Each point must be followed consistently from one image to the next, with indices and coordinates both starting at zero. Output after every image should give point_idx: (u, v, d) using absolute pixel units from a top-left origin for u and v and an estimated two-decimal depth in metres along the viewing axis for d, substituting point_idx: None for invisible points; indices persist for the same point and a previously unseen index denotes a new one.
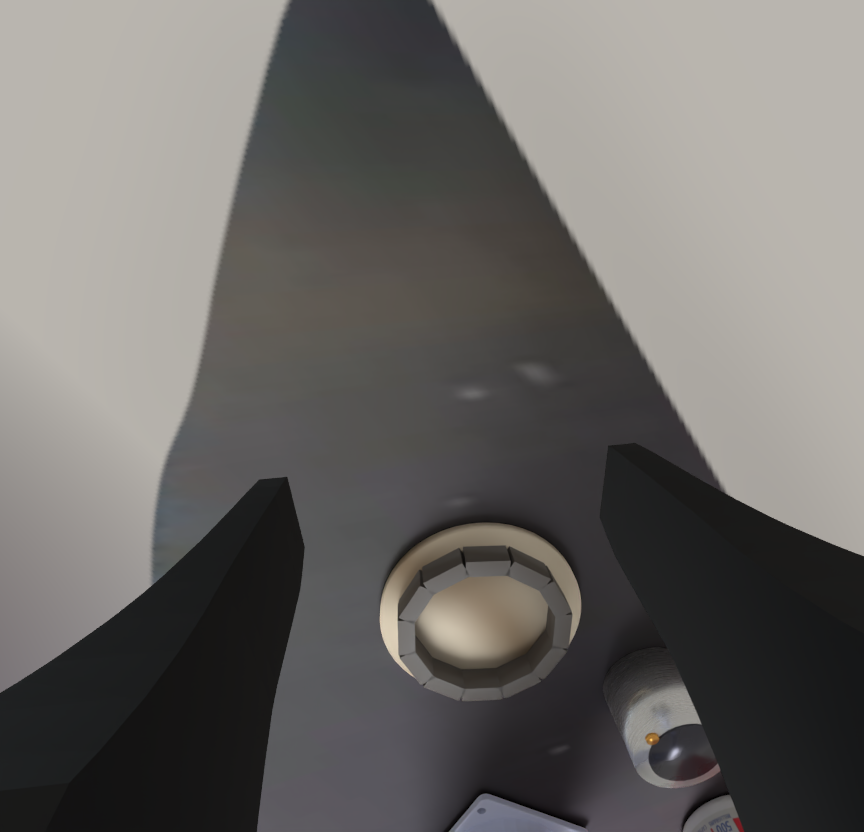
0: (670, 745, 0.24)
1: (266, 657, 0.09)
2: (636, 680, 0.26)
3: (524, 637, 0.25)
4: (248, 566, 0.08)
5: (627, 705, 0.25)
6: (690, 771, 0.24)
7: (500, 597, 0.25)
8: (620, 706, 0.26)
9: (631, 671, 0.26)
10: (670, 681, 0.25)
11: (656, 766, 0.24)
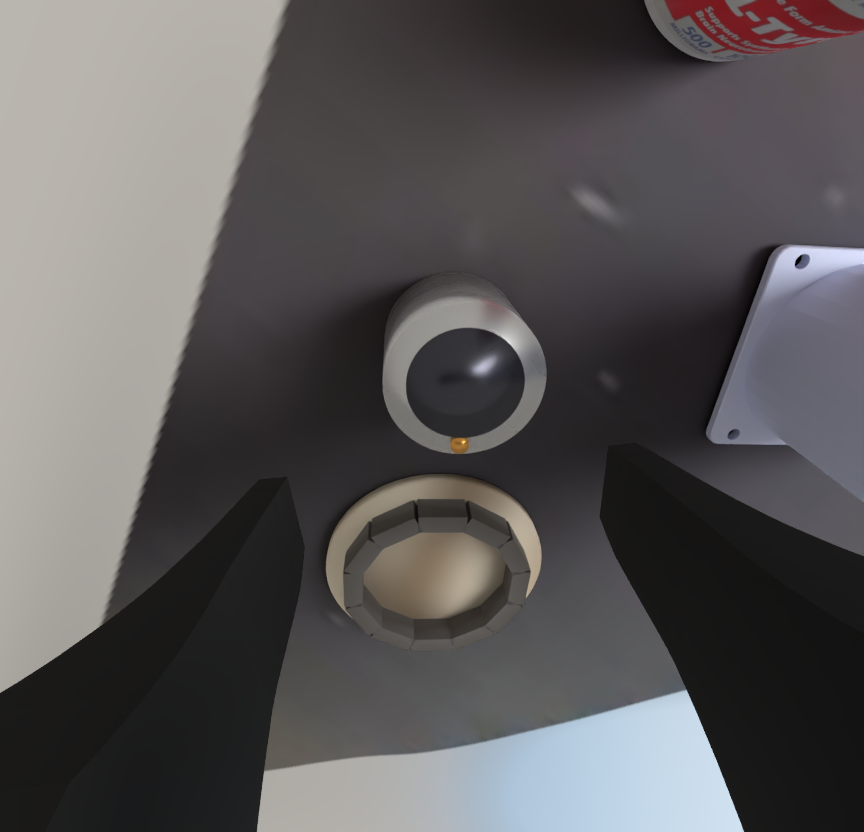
0: (458, 419, 0.16)
1: (266, 657, 0.09)
2: None
3: None
4: (248, 566, 0.08)
5: None
6: (496, 358, 0.15)
7: (404, 566, 0.23)
8: None
9: None
10: None
11: (504, 412, 0.16)
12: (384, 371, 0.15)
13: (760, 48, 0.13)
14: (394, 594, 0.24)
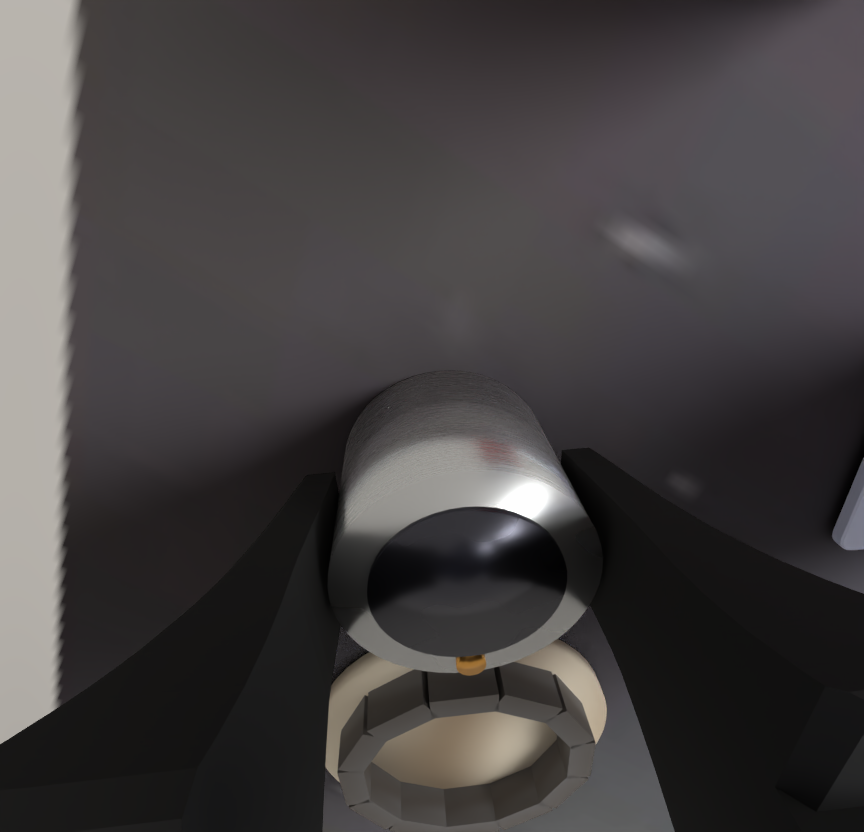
0: (464, 633, 0.10)
1: (324, 651, 0.09)
2: None
3: None
4: (309, 560, 0.08)
5: None
6: (514, 547, 0.09)
7: (422, 737, 0.17)
8: None
9: None
10: None
11: (537, 615, 0.09)
12: (329, 585, 0.09)
13: None
14: (414, 767, 0.18)
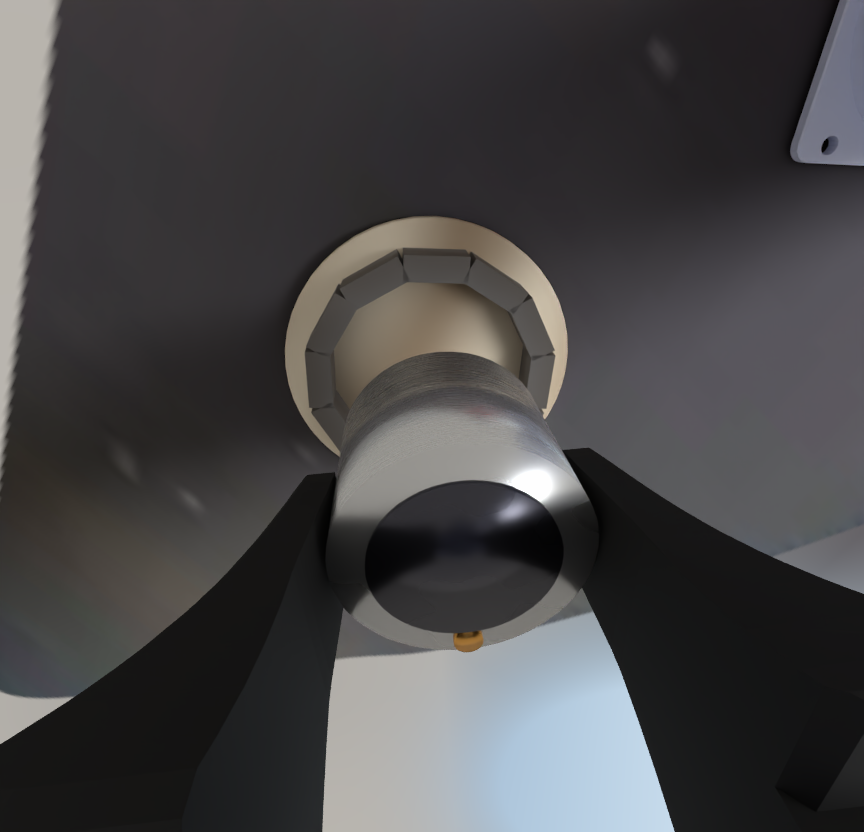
0: (461, 609, 0.10)
1: (324, 651, 0.09)
2: None
3: (435, 294, 0.17)
4: (309, 559, 0.08)
5: None
6: (511, 521, 0.09)
7: (388, 361, 0.18)
8: None
9: None
10: None
11: (534, 591, 0.10)
12: (327, 559, 0.09)
13: None
14: None
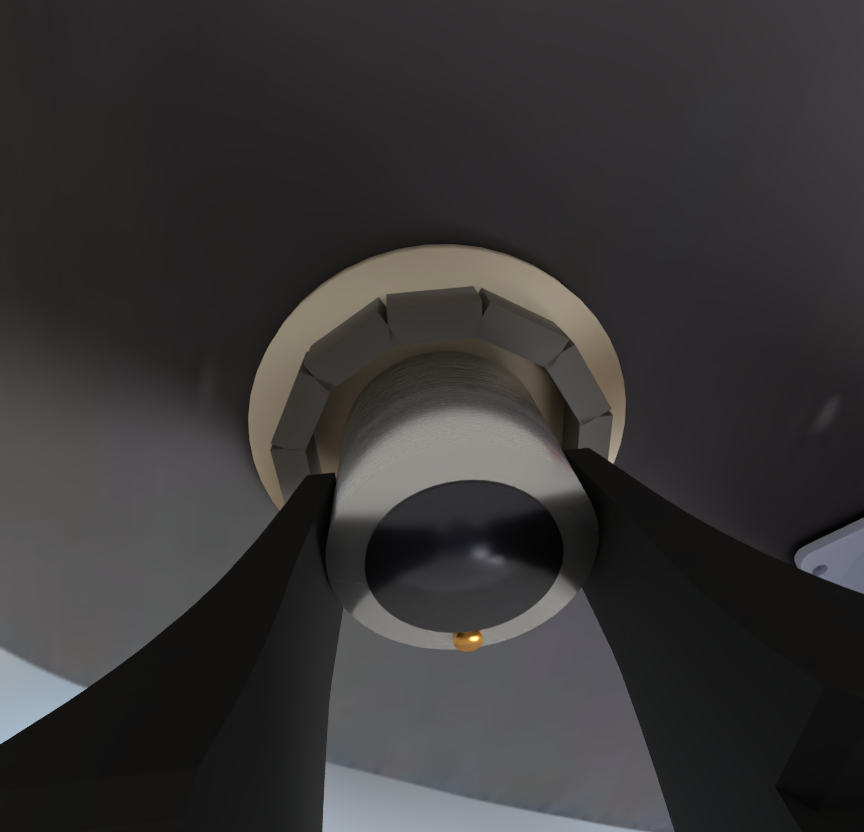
0: (461, 609, 0.10)
1: (323, 651, 0.09)
2: None
3: None
4: (309, 559, 0.08)
5: None
6: (511, 520, 0.09)
7: None
8: None
9: None
10: None
11: (534, 591, 0.10)
12: (327, 559, 0.09)
13: None
14: None
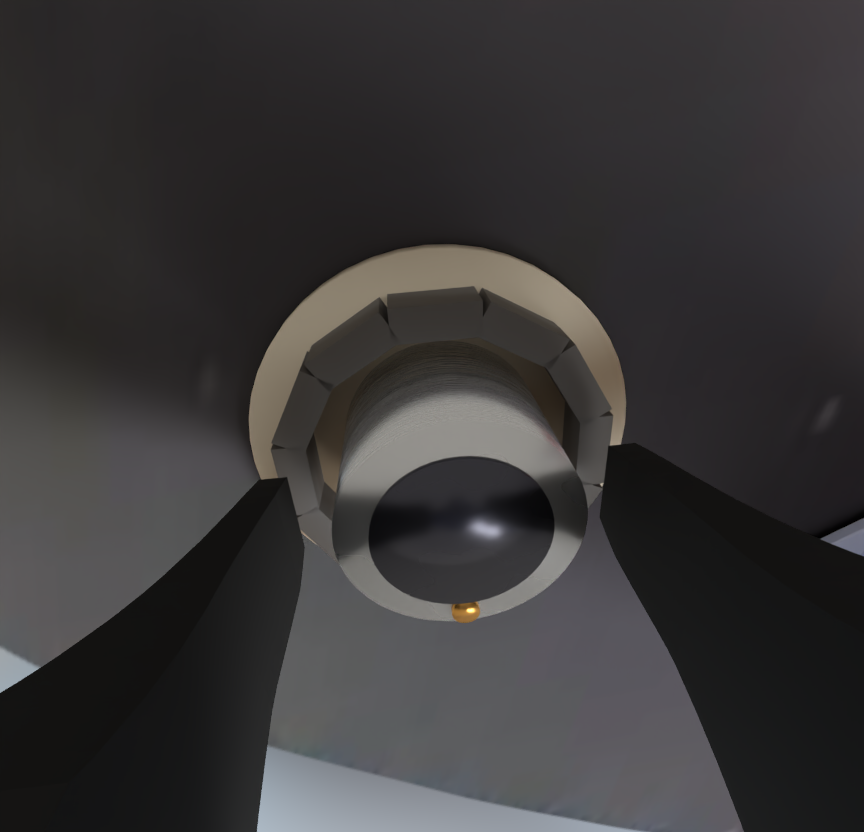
0: (458, 581, 0.10)
1: (266, 657, 0.09)
2: None
3: None
4: (248, 566, 0.08)
5: None
6: (505, 495, 0.09)
7: None
8: None
9: None
10: None
11: (527, 563, 0.10)
12: (333, 532, 0.10)
13: None
14: None
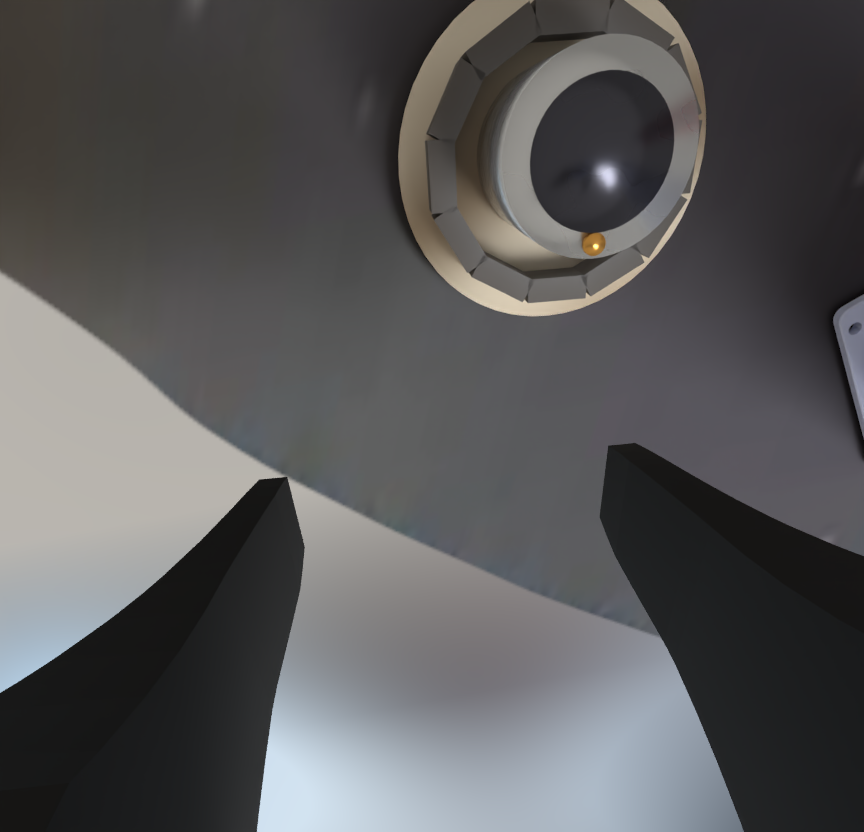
0: (594, 205, 0.13)
1: (266, 657, 0.09)
2: None
3: None
4: (248, 566, 0.08)
5: None
6: (640, 110, 0.12)
7: None
8: None
9: None
10: (505, 215, 0.15)
11: (648, 190, 0.13)
12: (504, 147, 0.12)
13: None
14: None
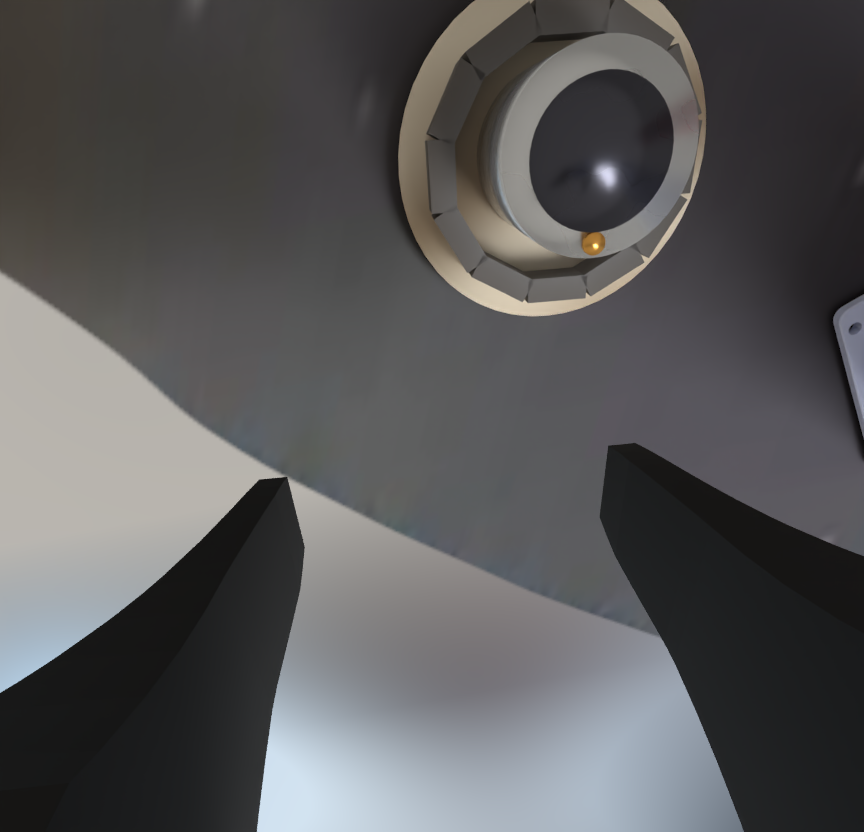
0: (593, 205, 0.13)
1: (266, 657, 0.09)
2: None
3: None
4: (248, 566, 0.08)
5: None
6: (639, 110, 0.12)
7: None
8: None
9: None
10: (505, 214, 0.15)
11: (648, 189, 0.13)
12: (503, 147, 0.12)
13: None
14: None
